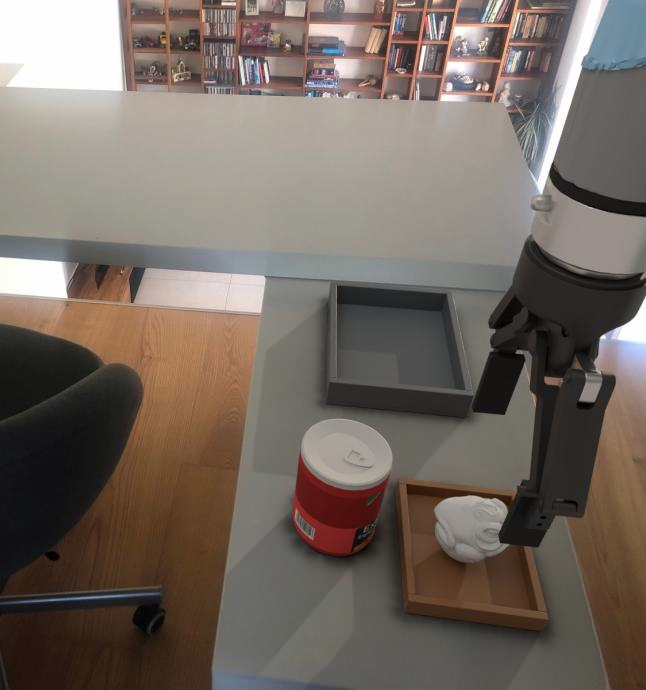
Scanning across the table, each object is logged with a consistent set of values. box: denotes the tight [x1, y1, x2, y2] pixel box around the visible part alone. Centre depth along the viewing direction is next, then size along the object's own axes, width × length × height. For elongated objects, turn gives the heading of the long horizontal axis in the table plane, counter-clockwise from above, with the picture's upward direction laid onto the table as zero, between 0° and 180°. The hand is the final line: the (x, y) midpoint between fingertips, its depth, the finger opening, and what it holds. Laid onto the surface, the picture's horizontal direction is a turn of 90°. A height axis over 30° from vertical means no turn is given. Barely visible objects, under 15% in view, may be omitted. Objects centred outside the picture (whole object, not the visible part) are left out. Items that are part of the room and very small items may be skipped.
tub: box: [325, 281, 475, 419], centre depth 85 cm, size 20×16×4 cm
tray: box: [394, 477, 550, 632], centre depth 64 cm, size 13×11×2 cm
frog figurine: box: [434, 496, 510, 563], centre depth 62 cm, size 6×7×7 cm
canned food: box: [291, 418, 394, 557], centre depth 64 cm, size 8×8×11 cm
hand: (501, 470), depth 56 cm, fingers open, 13 cm apart
